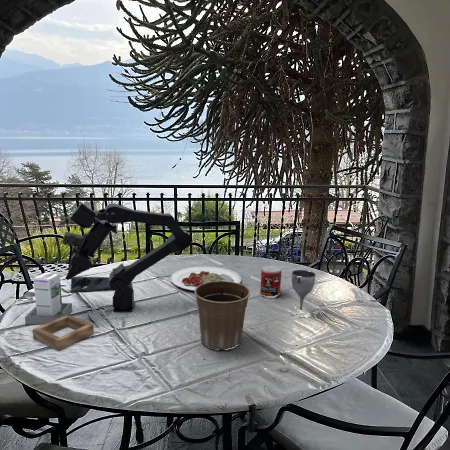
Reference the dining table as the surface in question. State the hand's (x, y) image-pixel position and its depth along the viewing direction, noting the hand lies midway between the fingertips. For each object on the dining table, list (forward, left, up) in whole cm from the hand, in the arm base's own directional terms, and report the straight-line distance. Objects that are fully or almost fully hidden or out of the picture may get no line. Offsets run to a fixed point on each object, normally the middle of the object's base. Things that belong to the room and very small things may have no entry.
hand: (67, 274), depth 129 cm
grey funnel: (-79, 0, -14) cm, 81 cm away
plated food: (-46, -32, -14) cm, 58 cm away
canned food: (-71, -17, -14) cm, 75 cm away
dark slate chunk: (-3, -26, -15) cm, 30 cm away
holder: (+6, +3, -14) cm, 15 cm away
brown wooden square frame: (-3, +16, -14) cm, 21 cm away
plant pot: (-50, +19, -14) cm, 55 cm away
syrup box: (+6, +3, -14) cm, 15 cm away
